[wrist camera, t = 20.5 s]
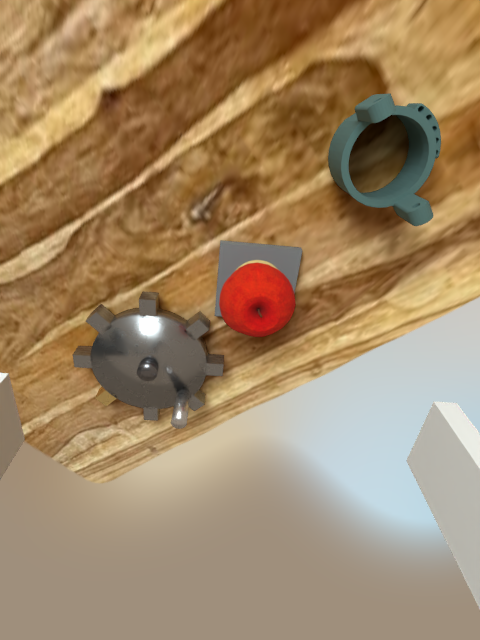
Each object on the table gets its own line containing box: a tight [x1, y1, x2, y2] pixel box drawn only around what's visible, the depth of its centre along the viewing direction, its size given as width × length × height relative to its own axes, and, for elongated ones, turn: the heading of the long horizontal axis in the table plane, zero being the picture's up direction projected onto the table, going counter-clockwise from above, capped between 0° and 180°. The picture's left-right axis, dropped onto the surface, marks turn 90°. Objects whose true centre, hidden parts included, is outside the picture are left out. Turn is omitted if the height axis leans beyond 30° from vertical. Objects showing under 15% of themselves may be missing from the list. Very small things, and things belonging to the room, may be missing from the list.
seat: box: [215, 241, 302, 322], centre depth 44 cm, size 9×9×1 cm
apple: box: [219, 262, 296, 337], centre depth 40 cm, size 8×8×7 cm
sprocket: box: [73, 292, 224, 429], centre depth 45 cm, size 18×18×7 cm
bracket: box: [328, 94, 441, 226], centre depth 34 cm, size 9×9×9 cm
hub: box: [137, 359, 159, 381], centre depth 47 cm, size 6×6×4 cm
